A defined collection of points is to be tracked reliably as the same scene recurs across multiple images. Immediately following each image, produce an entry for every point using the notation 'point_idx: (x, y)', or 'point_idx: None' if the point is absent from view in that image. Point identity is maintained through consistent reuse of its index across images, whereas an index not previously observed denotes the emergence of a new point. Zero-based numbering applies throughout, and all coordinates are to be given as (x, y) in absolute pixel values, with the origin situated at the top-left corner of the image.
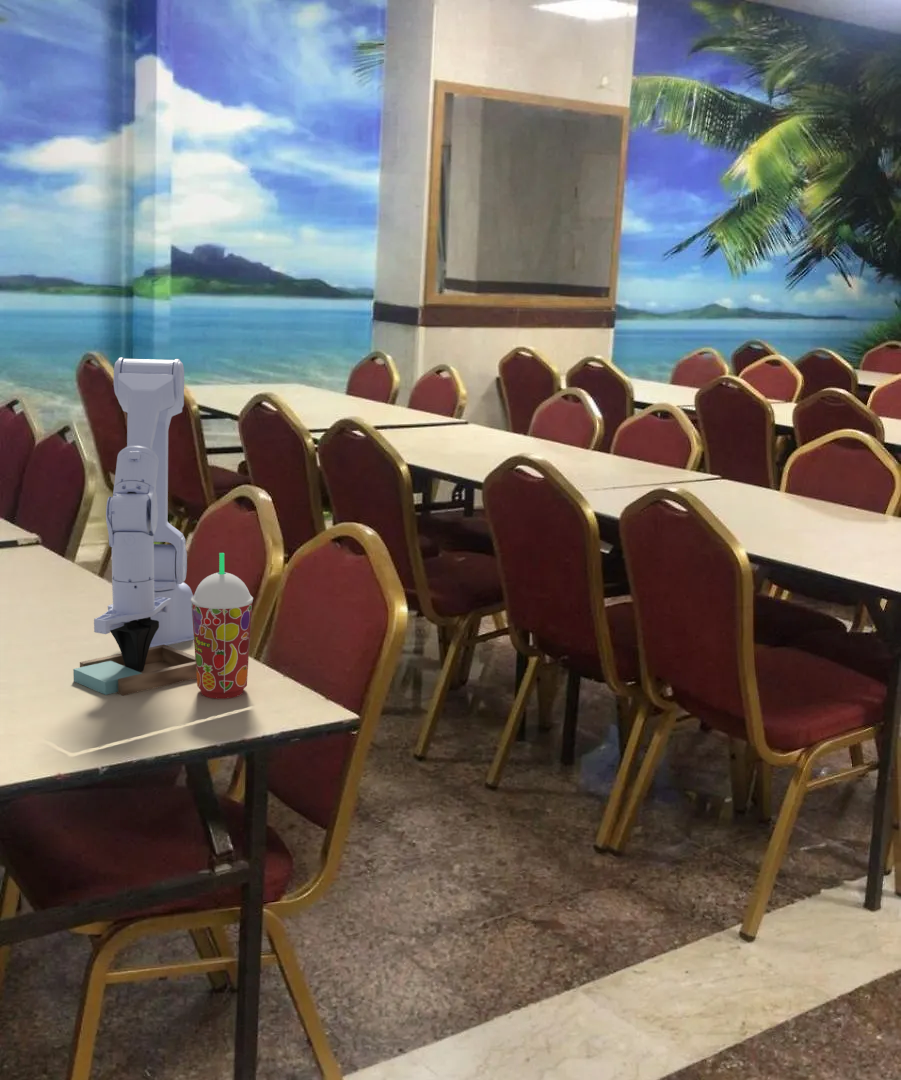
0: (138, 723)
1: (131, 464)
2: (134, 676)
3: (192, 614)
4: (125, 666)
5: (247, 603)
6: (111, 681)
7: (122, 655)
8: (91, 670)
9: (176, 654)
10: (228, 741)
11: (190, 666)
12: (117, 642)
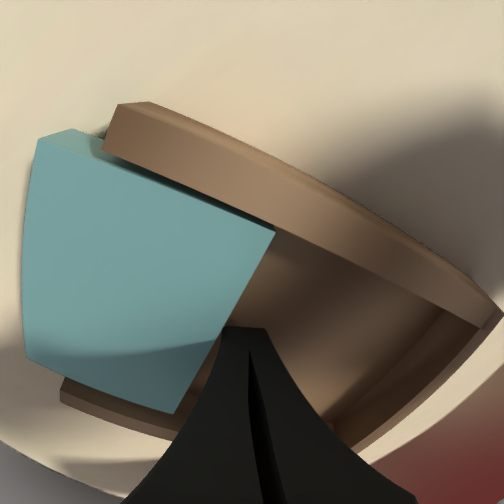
0: (24, 414)
1: None
2: (112, 417)
3: None
4: (221, 339)
5: None
6: (48, 366)
7: (209, 378)
8: (70, 241)
9: (415, 389)
10: (82, 482)
11: None
12: (175, 441)
